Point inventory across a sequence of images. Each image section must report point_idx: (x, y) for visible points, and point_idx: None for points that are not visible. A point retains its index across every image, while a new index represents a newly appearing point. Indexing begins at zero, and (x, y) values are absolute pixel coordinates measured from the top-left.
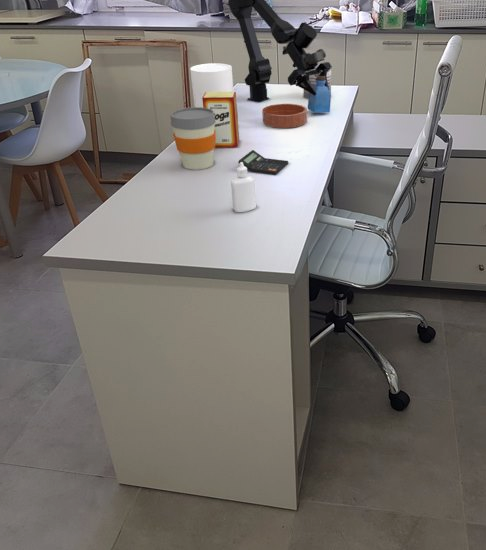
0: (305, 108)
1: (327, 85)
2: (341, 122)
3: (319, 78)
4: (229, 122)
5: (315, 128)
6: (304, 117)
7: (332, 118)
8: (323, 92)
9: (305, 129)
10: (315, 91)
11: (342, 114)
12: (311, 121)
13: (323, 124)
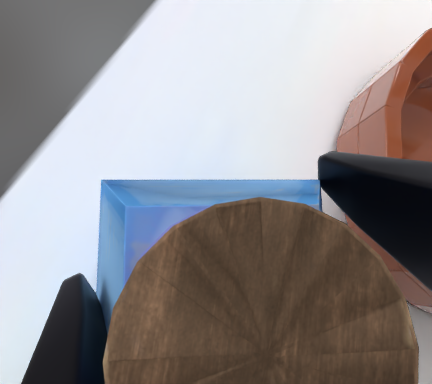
0: (395, 113)
1: (67, 327)
2: (142, 26)
3: (340, 247)
4: None
5: (326, 7)
6: (395, 58)
7: (156, 126)
8: (210, 186)
9: (378, 18)
10: (345, 160)
11: (36, 182)
12: (308, 129)
13: (261, 45)
